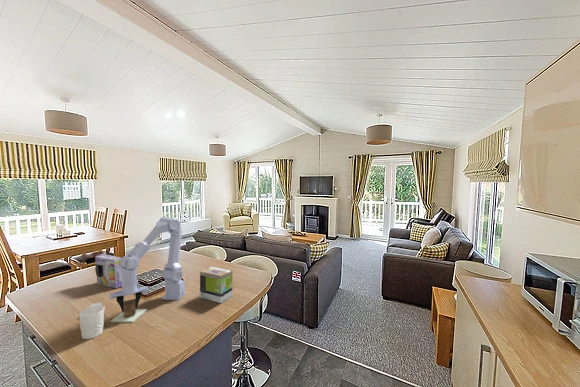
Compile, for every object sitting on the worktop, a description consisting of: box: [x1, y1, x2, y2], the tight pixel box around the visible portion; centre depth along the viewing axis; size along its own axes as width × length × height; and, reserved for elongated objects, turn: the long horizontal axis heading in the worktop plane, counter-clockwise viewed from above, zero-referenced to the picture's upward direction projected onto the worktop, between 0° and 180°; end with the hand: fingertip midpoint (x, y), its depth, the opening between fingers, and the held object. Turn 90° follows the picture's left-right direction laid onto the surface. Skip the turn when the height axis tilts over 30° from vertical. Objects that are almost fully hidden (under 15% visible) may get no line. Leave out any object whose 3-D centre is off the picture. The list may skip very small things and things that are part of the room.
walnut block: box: [123, 298, 136, 317], centre depth 110 cm, size 4×4×6 cm
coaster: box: [110, 308, 148, 324], centre depth 110 cm, size 10×10×1 cm
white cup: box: [78, 305, 105, 340], centre depth 96 cm, size 8×8×10 cm
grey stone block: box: [87, 302, 102, 308], centre depth 112 cm, size 4×4×4 cm
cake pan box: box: [94, 254, 123, 289], centre depth 141 cm, size 19×5×18 cm, turn 68°
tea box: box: [199, 266, 233, 304], centre depth 129 cm, size 15×10×15 cm, turn 65°
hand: (129, 309), depth 110 cm, fingers closed on walnut block, 4 cm apart
